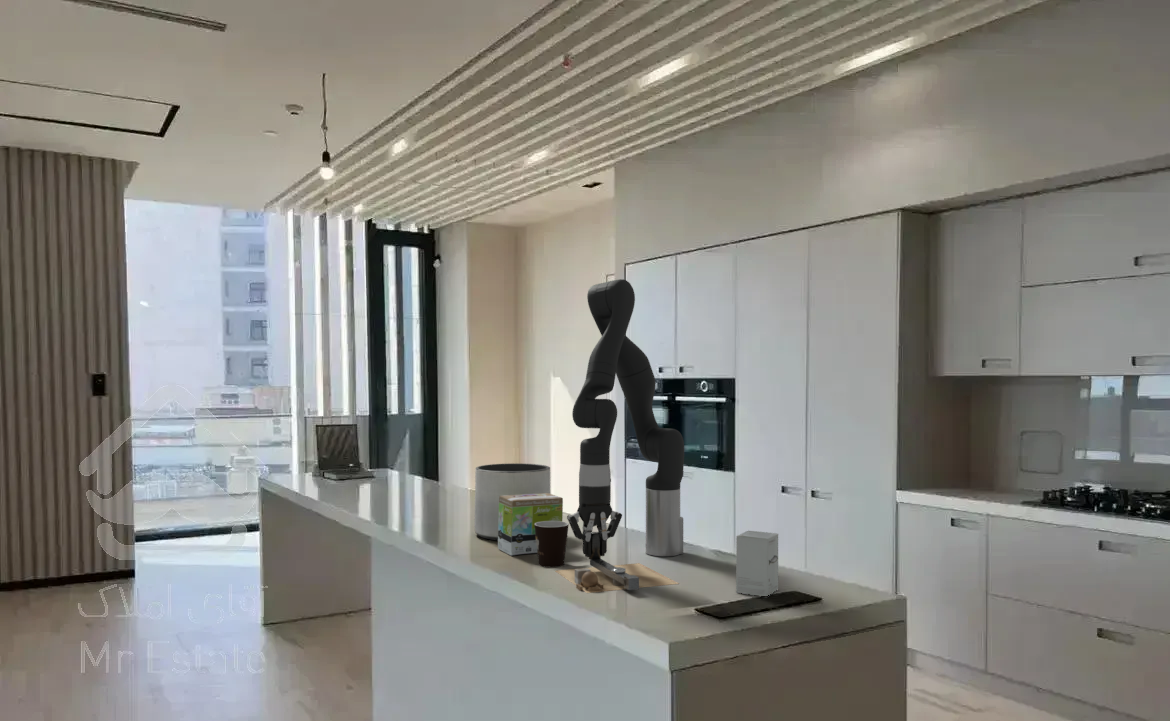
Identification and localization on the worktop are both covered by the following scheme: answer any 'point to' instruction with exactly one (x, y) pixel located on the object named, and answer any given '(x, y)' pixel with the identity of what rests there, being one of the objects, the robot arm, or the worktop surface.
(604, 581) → the press base
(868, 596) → the worktop surface
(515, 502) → the tea box
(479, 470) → the planter
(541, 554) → the coffee mug
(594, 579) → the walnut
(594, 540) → the lever
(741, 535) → the supplement box
